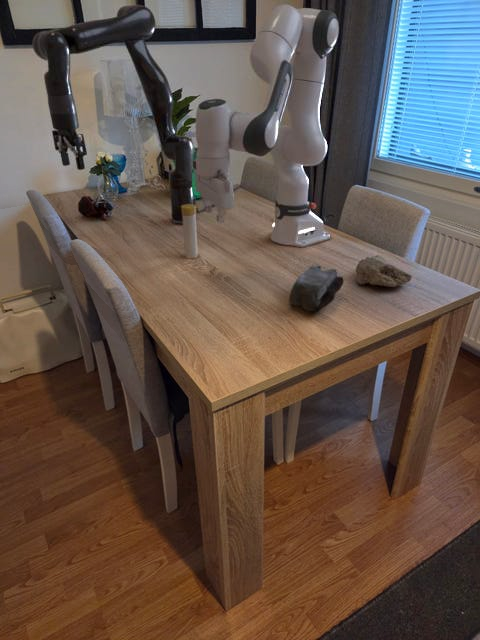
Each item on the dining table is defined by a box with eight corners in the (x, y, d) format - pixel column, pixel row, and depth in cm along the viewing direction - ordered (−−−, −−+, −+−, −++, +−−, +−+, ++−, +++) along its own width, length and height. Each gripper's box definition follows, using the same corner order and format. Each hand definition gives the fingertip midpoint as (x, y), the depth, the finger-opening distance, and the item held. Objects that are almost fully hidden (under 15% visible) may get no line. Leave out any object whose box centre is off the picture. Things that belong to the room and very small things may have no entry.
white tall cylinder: (183, 257, 153) (180, 209, 144) (187, 252, 156) (184, 205, 147) (195, 259, 152) (192, 210, 143) (199, 254, 156) (196, 205, 147)
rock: (323, 321, 117) (326, 295, 113) (284, 311, 122) (285, 285, 118) (343, 292, 131) (347, 268, 127) (308, 284, 136) (310, 260, 132)
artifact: (373, 298, 130) (414, 291, 135) (379, 276, 125) (421, 270, 130) (340, 268, 143) (378, 263, 148) (345, 247, 139) (384, 242, 144)
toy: (105, 189, 179) (76, 188, 184) (97, 209, 176) (68, 207, 182) (121, 206, 189) (93, 204, 195) (114, 225, 187) (85, 223, 192)
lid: (179, 214, 145) (179, 207, 143) (184, 210, 149) (183, 203, 147) (193, 215, 144) (193, 208, 143) (197, 211, 148) (197, 204, 147)
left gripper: (87, 112, 131) (96, 168, 139) (61, 108, 138) (72, 162, 147) (64, 114, 126) (75, 173, 134) (39, 110, 134) (51, 166, 142)
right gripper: (240, 174, 113) (239, 226, 120) (210, 158, 128) (211, 205, 136) (217, 176, 110) (217, 230, 118) (189, 160, 126) (192, 208, 133)
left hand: (73, 167), depth 141 cm, fingers open, 8 cm apart
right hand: (214, 216), depth 127 cm, fingers open, 8 cm apart
